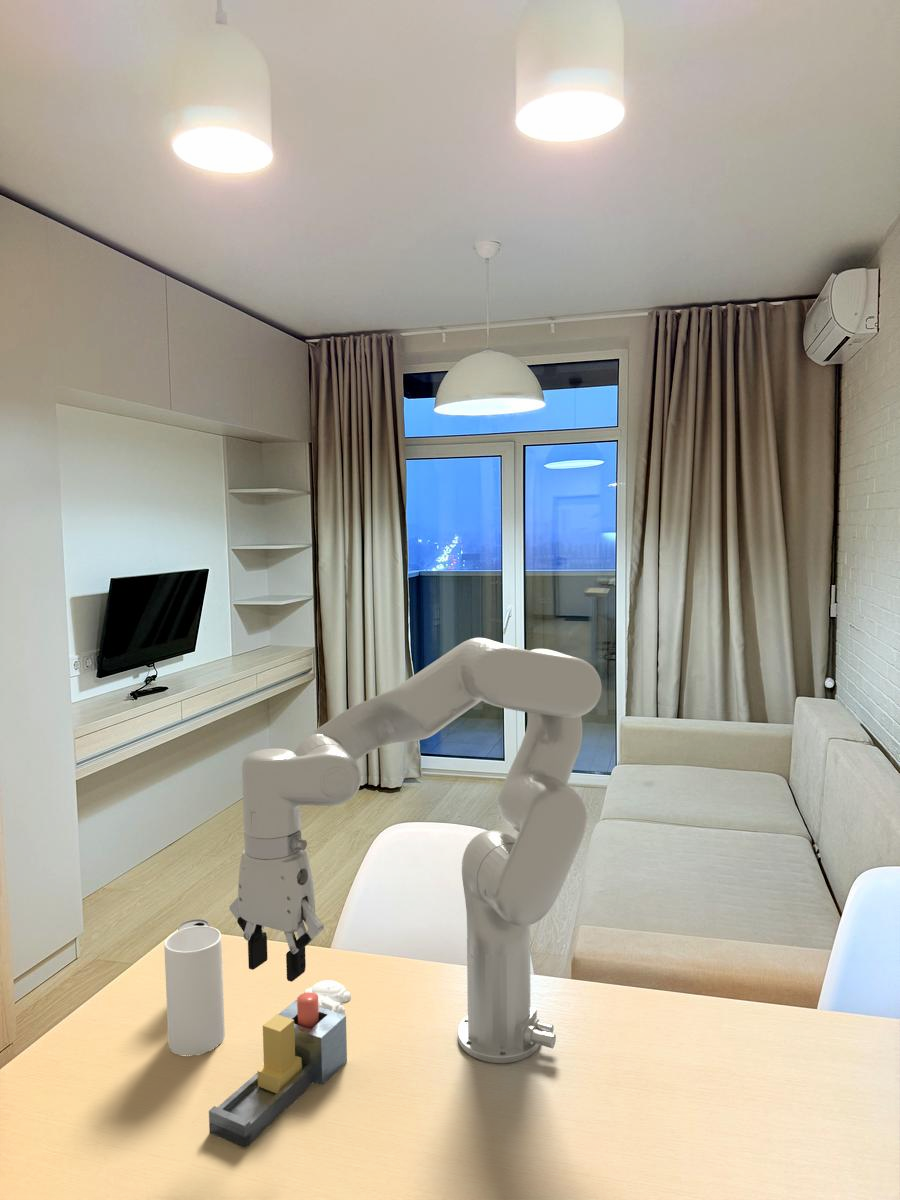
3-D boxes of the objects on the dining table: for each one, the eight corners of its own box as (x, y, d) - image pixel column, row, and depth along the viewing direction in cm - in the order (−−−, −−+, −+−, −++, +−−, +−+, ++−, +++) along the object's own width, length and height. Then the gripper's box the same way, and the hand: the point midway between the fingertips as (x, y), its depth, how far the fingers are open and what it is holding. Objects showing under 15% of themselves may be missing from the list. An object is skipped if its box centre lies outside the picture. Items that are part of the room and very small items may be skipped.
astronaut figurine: (280, 1026, 131) (280, 1007, 131) (313, 986, 142) (312, 968, 142) (332, 1034, 128) (331, 1016, 128) (360, 993, 140) (360, 976, 140)
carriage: (301, 1072, 116) (300, 1016, 116) (278, 1094, 112) (277, 1036, 111) (281, 1065, 118) (279, 1010, 117) (257, 1086, 114) (256, 1029, 113)
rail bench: (347, 1061, 121) (346, 1015, 121) (254, 1152, 104) (253, 1099, 103) (297, 1044, 126) (296, 999, 125) (200, 1129, 108) (198, 1077, 107)
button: (323, 1027, 121) (322, 995, 121) (310, 1038, 118) (309, 1006, 118) (306, 1021, 122) (305, 990, 122) (293, 1032, 120) (292, 1000, 119)
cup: (208, 1059, 122) (204, 954, 121) (157, 1052, 124) (153, 949, 123) (234, 1026, 130) (230, 928, 129) (185, 1020, 132) (182, 923, 131)
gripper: (342, 843, 111) (345, 972, 113) (242, 823, 119) (247, 944, 121) (307, 863, 105) (311, 1000, 106) (205, 841, 113) (209, 968, 114)
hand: (276, 969), depth 114 cm, fingers open, 5 cm apart
